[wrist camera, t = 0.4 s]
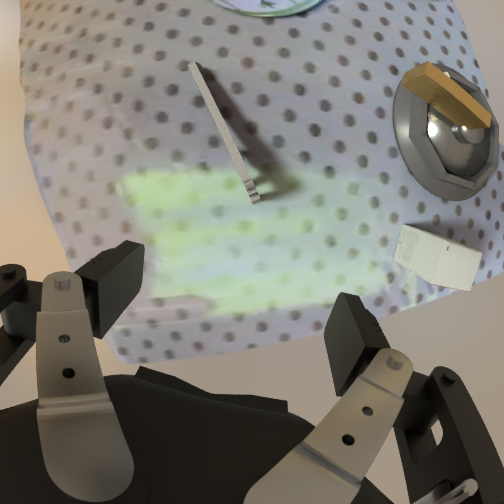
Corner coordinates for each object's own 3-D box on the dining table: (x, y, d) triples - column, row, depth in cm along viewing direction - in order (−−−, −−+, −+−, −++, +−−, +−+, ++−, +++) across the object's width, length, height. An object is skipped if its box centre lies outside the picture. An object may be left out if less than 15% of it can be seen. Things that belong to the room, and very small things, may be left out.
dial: (488, 119, 33) (526, 115, 24) (470, 190, 36) (510, 198, 27) (401, 49, 31) (434, 27, 22) (376, 126, 34) (412, 116, 25)
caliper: (260, 198, 37) (263, 203, 31) (252, 202, 37) (254, 207, 31) (195, 62, 32) (187, 44, 26) (187, 66, 32) (178, 48, 26)
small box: (391, 259, 40) (430, 285, 30) (402, 222, 38) (444, 238, 28) (430, 269, 40) (470, 293, 30) (440, 235, 39) (484, 252, 29)
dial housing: (393, 45, 31) (406, 36, 27) (491, 94, 33) (506, 91, 29) (385, 184, 37) (399, 186, 33) (485, 211, 38) (501, 215, 34)
